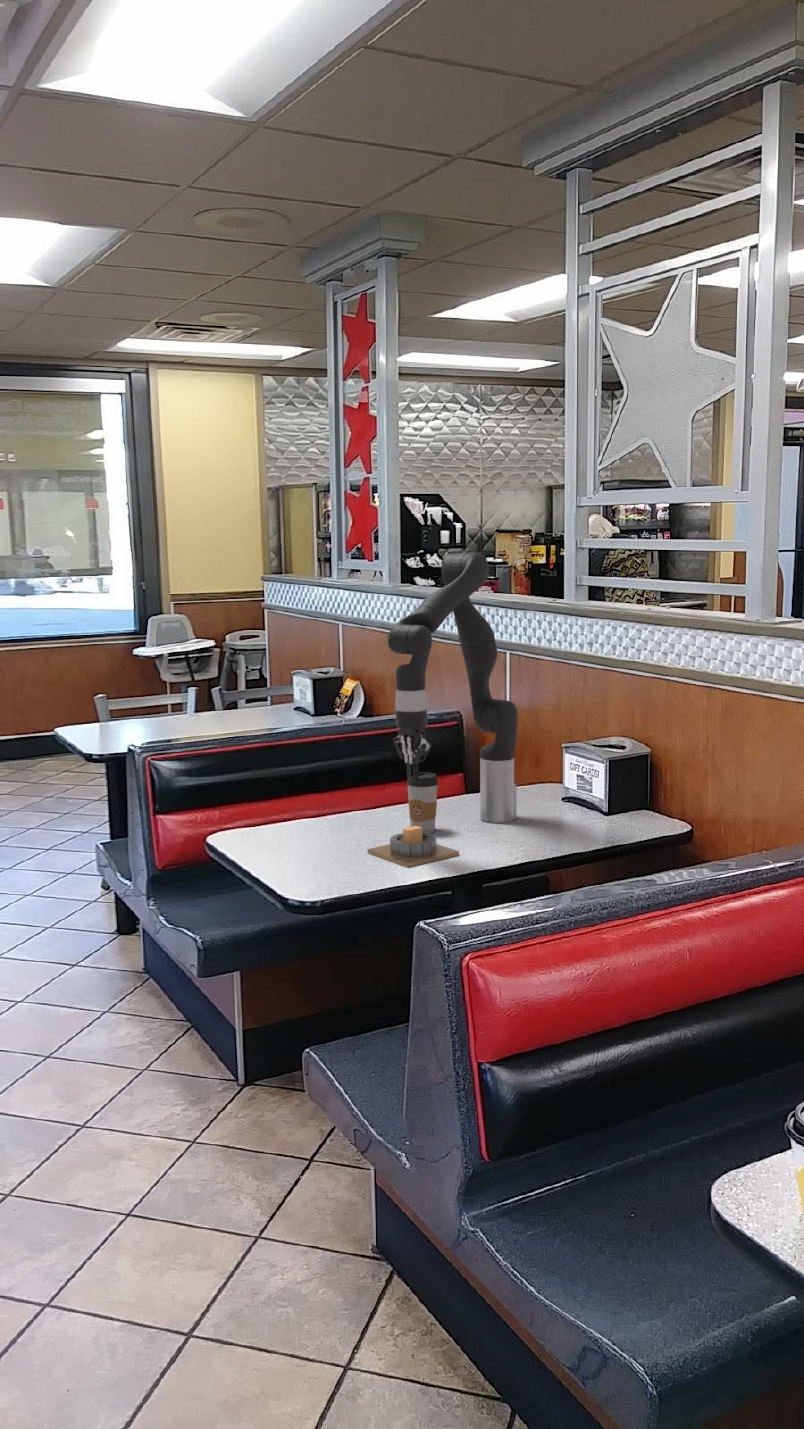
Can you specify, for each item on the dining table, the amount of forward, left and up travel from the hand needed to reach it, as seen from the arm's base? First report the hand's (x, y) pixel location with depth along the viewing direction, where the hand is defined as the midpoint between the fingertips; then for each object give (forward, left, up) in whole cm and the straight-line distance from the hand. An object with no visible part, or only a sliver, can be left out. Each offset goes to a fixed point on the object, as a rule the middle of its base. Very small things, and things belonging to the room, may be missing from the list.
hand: (412, 777), depth 271 cm
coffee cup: (-16, -16, -19) cm, 30 cm away
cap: (0, 0, -18) cm, 18 cm away
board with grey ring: (0, 0, -19) cm, 19 cm away
